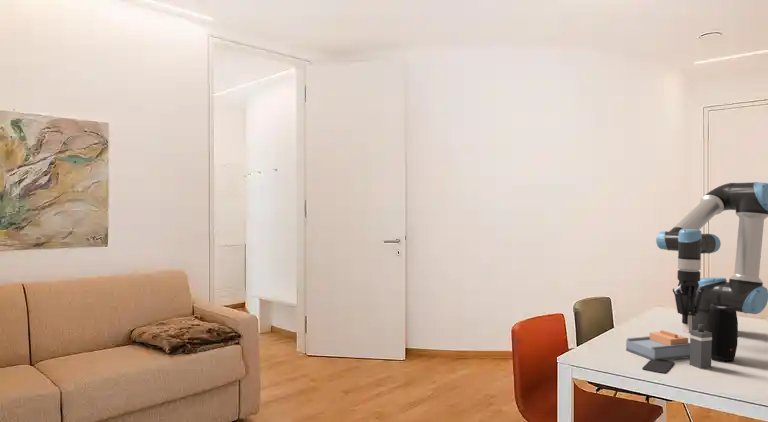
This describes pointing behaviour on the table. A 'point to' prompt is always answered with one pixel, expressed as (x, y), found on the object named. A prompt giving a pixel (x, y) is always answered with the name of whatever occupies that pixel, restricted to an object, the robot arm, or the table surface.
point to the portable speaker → (723, 331)
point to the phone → (658, 366)
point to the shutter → (668, 338)
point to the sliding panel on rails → (657, 349)
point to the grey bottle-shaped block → (700, 348)
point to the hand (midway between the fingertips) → (687, 332)
